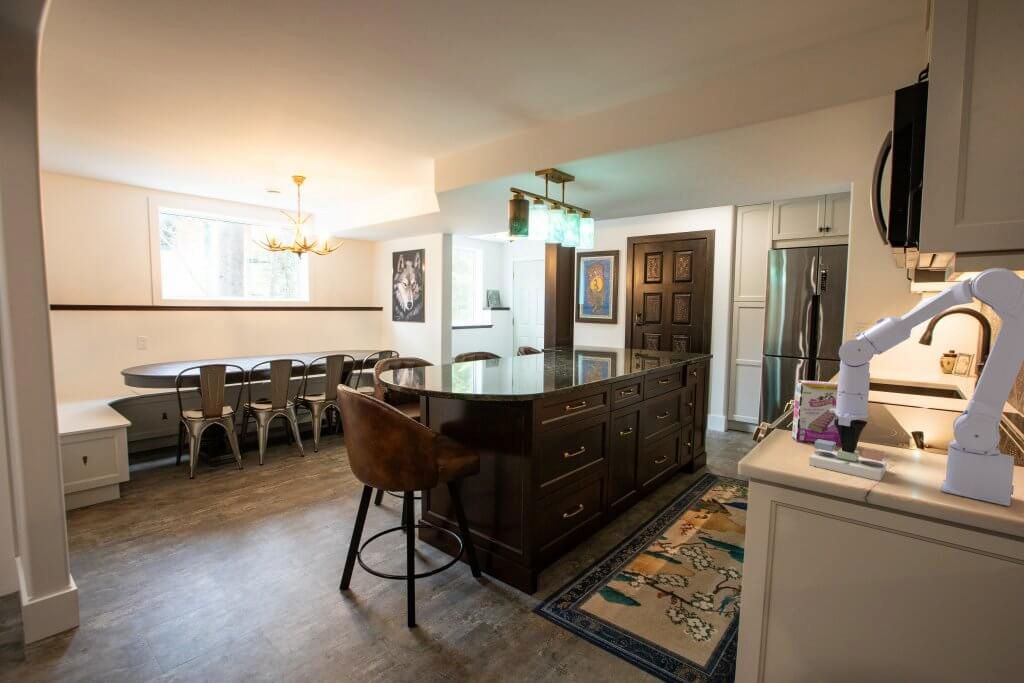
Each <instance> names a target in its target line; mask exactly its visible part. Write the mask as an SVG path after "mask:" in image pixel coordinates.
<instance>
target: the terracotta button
mask: <svg viewBox="0 0 1024 683" xmlns="http://www.w3.org/2000/svg"><path fill="white" fill-rule="evenodd" d="M885 453H886V451H885V450H879V449H874V448H870V447H864V448H863V449H862V451H861V457H862V458H866V459H871V460H876V461H881V462H882V461H884V459H885Z"/></svg>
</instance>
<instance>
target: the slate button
mask: <svg viewBox="0 0 1024 683" xmlns="http://www.w3.org/2000/svg"><path fill="white" fill-rule="evenodd" d="M836 446H837V445H836V442H832V441H826V440H821V439H818V440H817V441H815V443H814V449H817V450H818V449H821V450H826V451H831V452H832V451H835V449H836Z"/></svg>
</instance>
